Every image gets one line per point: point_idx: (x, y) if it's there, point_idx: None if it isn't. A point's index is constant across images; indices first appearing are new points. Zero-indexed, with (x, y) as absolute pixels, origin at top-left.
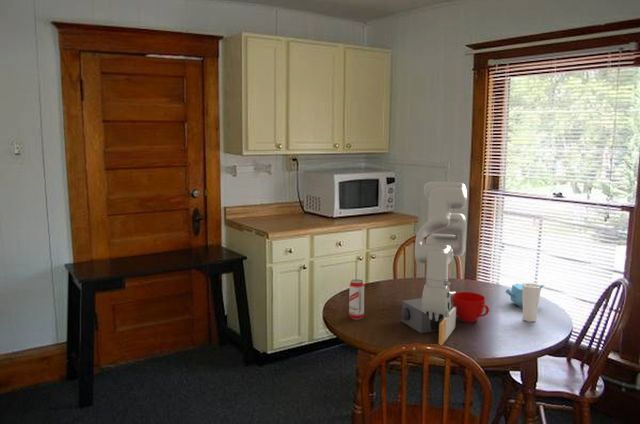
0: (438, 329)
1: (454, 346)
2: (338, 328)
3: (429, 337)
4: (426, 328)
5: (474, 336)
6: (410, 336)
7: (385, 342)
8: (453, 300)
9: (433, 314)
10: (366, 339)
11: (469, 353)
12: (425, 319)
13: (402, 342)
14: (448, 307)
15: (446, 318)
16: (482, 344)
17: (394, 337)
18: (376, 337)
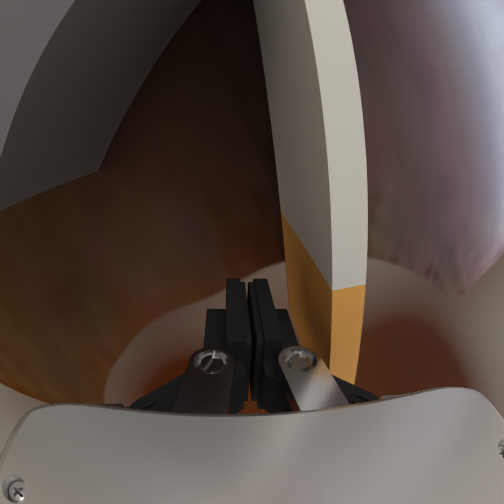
0: (170, 38)
1: None
2: None
3: (174, 200)
4: (104, 132)
5: (411, 36)
6: (81, 259)
7: (67, 375)
8: None
9: (213, 397)
10: (18, 375)
11: (435, 279)
12: (59, 147)
13: (107, 348)
14: (483, 423)
15: (360, 252)
16: (468, 136)
17: (46, 315)
18: (16, 348)
